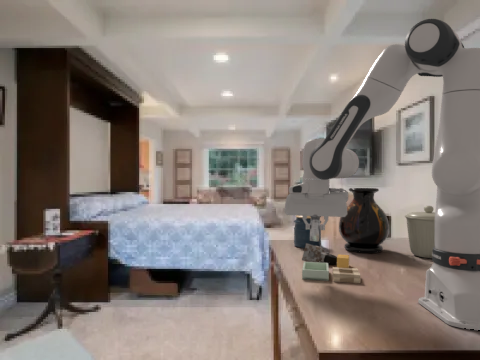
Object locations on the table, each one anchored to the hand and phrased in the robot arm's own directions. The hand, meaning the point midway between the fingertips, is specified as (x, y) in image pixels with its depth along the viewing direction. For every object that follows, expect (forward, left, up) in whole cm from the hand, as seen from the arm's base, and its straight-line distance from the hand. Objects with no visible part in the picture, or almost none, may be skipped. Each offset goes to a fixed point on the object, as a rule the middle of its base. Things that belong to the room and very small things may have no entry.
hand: (315, 229), depth 116 cm
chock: (+14, -10, -15) cm, 23 cm away
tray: (0, 0, -15) cm, 15 cm away
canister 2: (+41, -46, -15) cm, 63 cm away
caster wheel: (+18, -2, -16) cm, 24 cm away
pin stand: (-2, -10, -15) cm, 18 cm away
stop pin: (0, 0, -4) cm, 4 cm away
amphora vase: (+48, -21, -15) cm, 54 cm away
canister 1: (+52, +4, -15) cm, 54 cm away
